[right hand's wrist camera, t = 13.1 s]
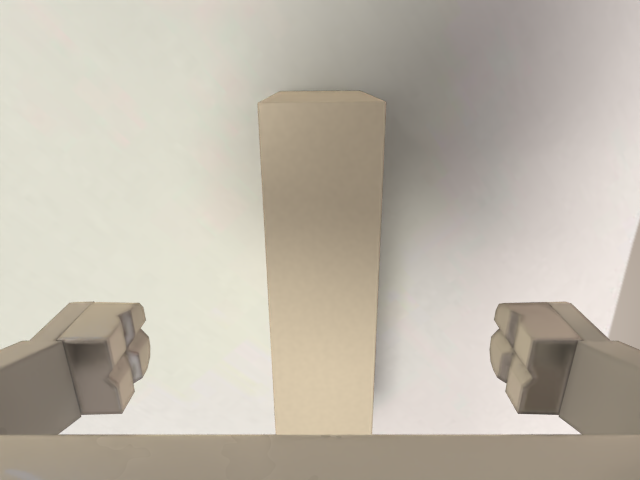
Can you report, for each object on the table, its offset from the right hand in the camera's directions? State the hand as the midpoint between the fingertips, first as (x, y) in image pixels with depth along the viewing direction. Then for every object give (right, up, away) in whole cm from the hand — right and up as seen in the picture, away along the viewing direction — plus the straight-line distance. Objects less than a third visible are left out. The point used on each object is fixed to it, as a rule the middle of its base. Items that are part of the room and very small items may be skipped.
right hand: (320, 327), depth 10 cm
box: (0, 0, +25) cm, 25 cm away
